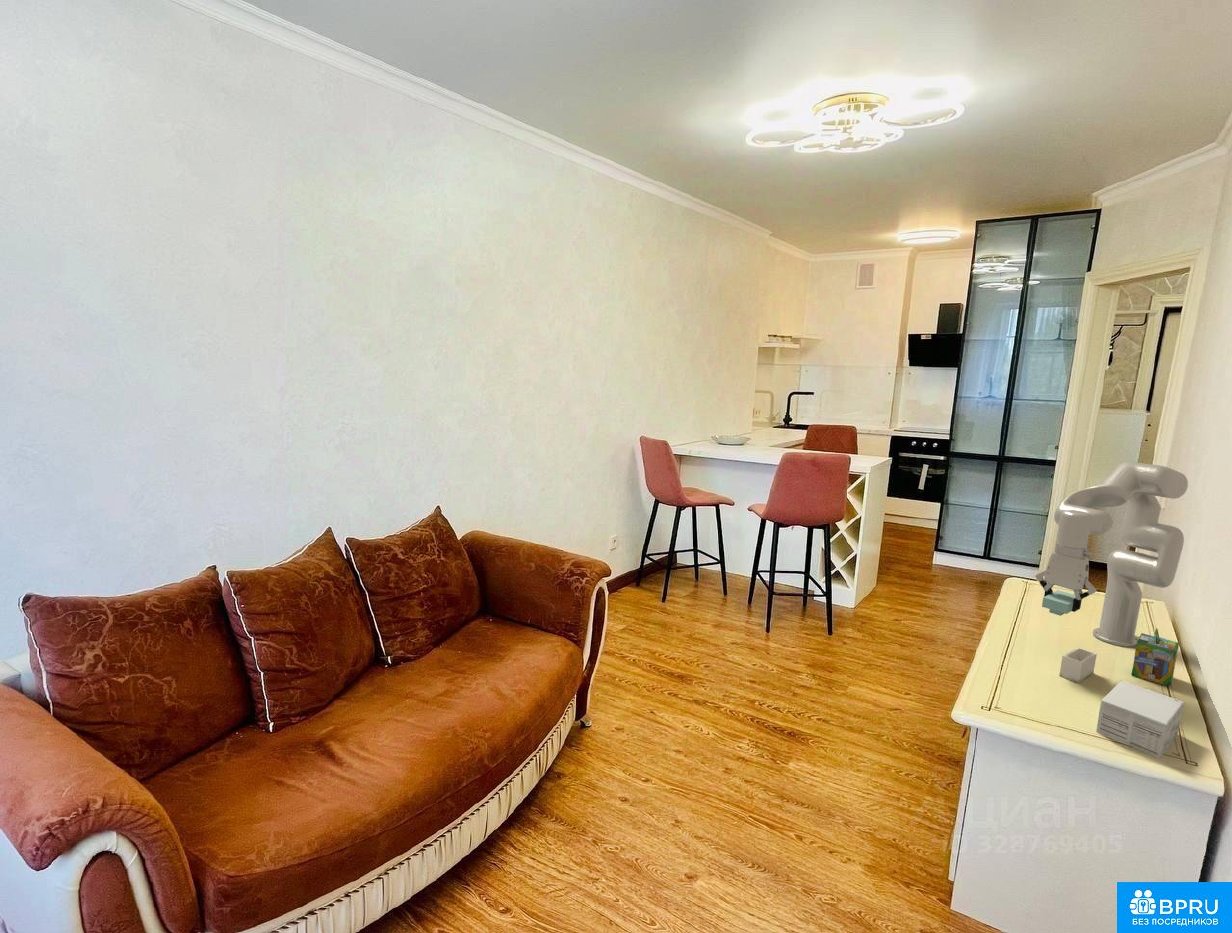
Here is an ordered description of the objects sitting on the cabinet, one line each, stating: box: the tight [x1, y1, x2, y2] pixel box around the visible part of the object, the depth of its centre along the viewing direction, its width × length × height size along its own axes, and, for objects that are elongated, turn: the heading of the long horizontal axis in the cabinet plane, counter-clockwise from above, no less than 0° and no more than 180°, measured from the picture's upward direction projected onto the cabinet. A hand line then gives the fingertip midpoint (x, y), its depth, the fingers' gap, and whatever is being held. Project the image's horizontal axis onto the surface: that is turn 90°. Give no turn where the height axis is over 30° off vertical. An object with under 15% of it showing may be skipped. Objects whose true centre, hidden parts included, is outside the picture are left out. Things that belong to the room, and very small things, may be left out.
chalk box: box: [1131, 627, 1180, 687], centre depth 186 cm, size 9×9×15 cm
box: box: [1058, 646, 1097, 684], centre depth 187 cm, size 11×5×6 cm, turn 124°
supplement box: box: [1095, 680, 1185, 759], centre depth 157 cm, size 17×13×9 cm
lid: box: [1041, 589, 1075, 616], centre depth 189 cm, size 12×6×4 cm, turn 126°
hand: (1061, 606), depth 189 cm, fingers closed on lid, 6 cm apart
